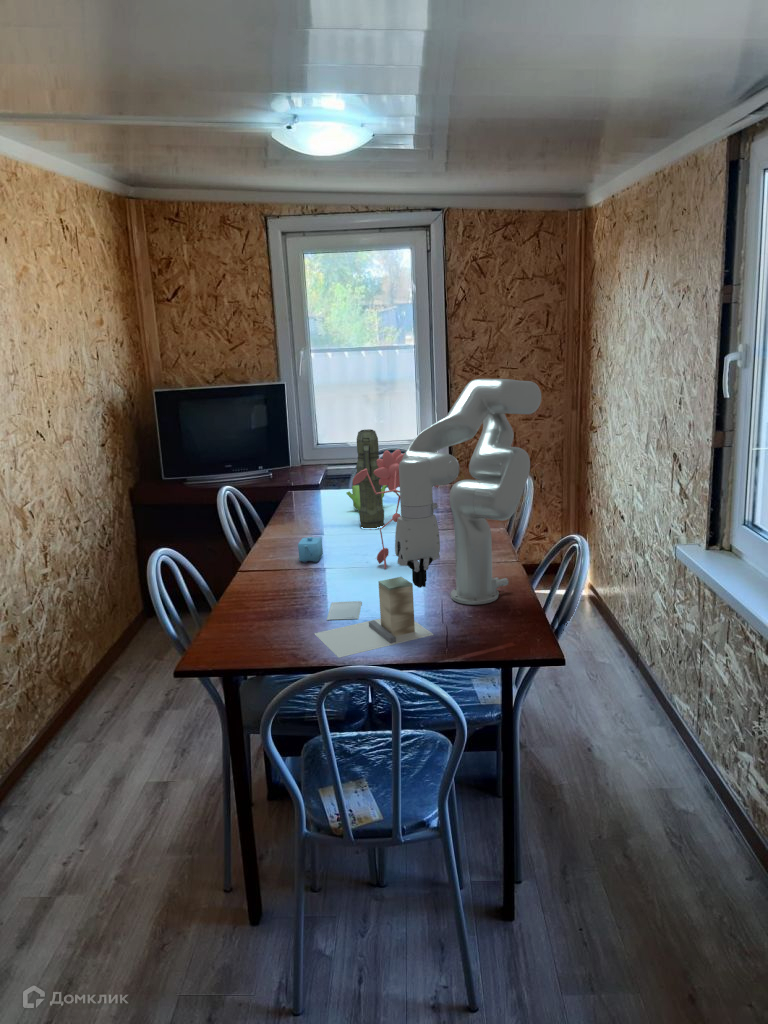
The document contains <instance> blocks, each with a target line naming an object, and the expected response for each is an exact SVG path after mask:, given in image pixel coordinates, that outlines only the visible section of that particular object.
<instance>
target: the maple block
mask: <svg viewBox="0 0 768 1024" xmlns="http://www.w3.org/2000/svg"><path fill="white" fill-rule="evenodd" d="M413 585H414V583H413V582H410V581H409V580H408V579H406V578H404V577H402V576H397V577H393V578H387V579H384V580H379V581H378V594H379V595H378V597H379V612H380V615H379V617H380V618H381V626H382V627H384V628H385V629H386V630H387V631H389V632H390V633H391V634H393V635H394V636H399V635H403V634H407V633H411V632H415V624H414V621H415V608H414V607H415V605H414V587H413Z"/></svg>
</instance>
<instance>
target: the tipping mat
mask: <svg viewBox="0 0 768 1024" xmlns="http://www.w3.org/2000/svg"><path fill="white" fill-rule="evenodd" d="M414 624H415V632H411V633H407V634H403V635H399V636H394V635H393V634H391V633H390V632H389V631H387V630H386V629H385V628H384V627H382V626H381V617H380V618H378V619H377V618H376V619H372V620H368V621H363V622H359V623H355V624H354V623H353V624H350V625H346V626H342V627H341V626H340V627H336V628H333V629H329V630H323V631H319V632H314V633H313V634H314V635H315V636H316V638H318V640H320V641H321V642H322V643H323V644H324V645H325V646H326V647H327V648H328V649H329V650H330V651H331V652H332V653H333V654H334V655H335V656H337V658H339V659H340V658H344V657H347V656H352V655H353V656H354V655H356V654H361V653H365V652H368V651H369V652H370V651H373V650H377V649H381V648H385V647H389V646H393V645H394V646H395V645H399V644H401V643H406V642H410V641H413V640H419V639H423V638H426V637H430V636H434V635H435V634H434V633H432V632H431V631H430V630H428V629H427V628H425V626H422V625H421V624H419V623H418V622H417V621H416V620H414Z"/></svg>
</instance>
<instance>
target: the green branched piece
mask: <svg viewBox="0 0 768 1024" xmlns="http://www.w3.org/2000/svg"><path fill="white" fill-rule="evenodd" d="M387 488H388V485H382V486H381V492H384V491H386V489H387ZM351 490H352V491H350V490H349V491H347V492H346V495H347V496H348V497H349V498H350V499H351V500H352V504H353V505H352V506H353V507H354V508H356V510H357V509H358V510H359V511H360V492H359V484H357V485H355V486H353V485H351ZM384 496H385V493H382V508H383V509H384V505H383V504H384V503H383V498H384ZM359 511H358V512H359Z"/></svg>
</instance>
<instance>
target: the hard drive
mask: <svg viewBox="0 0 768 1024" xmlns="http://www.w3.org/2000/svg"><path fill="white" fill-rule="evenodd" d="M362 606H363V601H360V600H356V601H333V602H331V603H330V607H329V610H328V613H327V617H326V622H329V621H350V620H351V621H352V620H353V621H354V620H359V619H360V614H361V608H362Z"/></svg>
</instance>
